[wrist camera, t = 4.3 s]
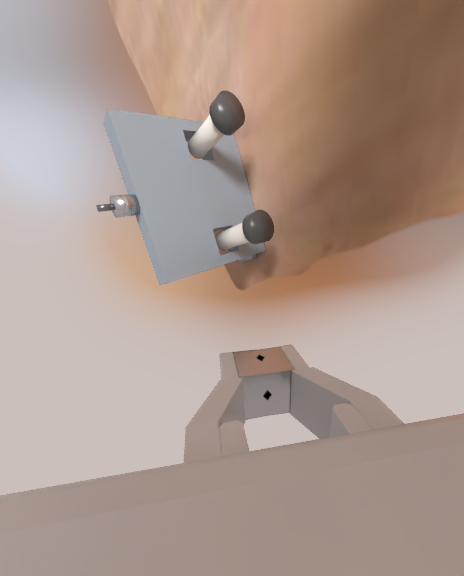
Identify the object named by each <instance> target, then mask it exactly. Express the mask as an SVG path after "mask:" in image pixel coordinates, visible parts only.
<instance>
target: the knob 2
mask: <svg viewBox="0 0 464 576" xmlns="http://www.w3.org/2000/svg"><path fill="white" fill-rule="evenodd" d="M273 233H274V225H273V221H272V219H271V217H270V216H269V214H268V213H267V212H265V211H263V210H257V211H255V212H253V213H251V214H249V215H247V216H246V217H245V218H244V220H243V223H240V224H238V225H236V226H234V227H231V228H229V229H227V230H225V231H222V232H220V233H218V235H217V237H216V242H217V245H218V247H219V248H221V249H223V250H226V249H229V248H233V247H236V246H239V245H242V244H245V243H248V242H250V243H252V244H260V243H263V242H266V241H269V240H270V239H271V238H272V236H273Z"/></svg>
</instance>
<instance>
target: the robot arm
mask: <svg viewBox="0 0 464 576" xmlns="http://www.w3.org/2000/svg"><path fill="white" fill-rule="evenodd" d="M220 369H221V380H220V381H219V382H218V384H217V385H216V386H215V388H214V389H213V391H212V392H211V393H210V395H209V396H208V397H207V399H206V400H205V402H204V403H203V404H202V406H201V407H200V409H199V410H198V411H197V413H196V414H195V416H194V417H193V418H192V420H191V421H190V422H189V424H188V425H187V427H186V435H185V450H184V463H182V464H177V465H171V466H165V467H160V468H154V469H148V470H142V471H137V472H132V473H126V474H120V475H114V476H109V477H103V478H97V479H92V480H86V481H80V482H75V483H69V484H64V485H58V486H52V487H46V488H41V489H36V490H30V491H24V492H18V493H13V494H7V495H1V496H0V576H464V414H459V415H453V416H448V417H442V418H437V419H432V420H425V421H420V422H414V423H408V424H404V423H403V422H402V421H401V420H400V419H399V418H398V417H397V416H396V415H395V414H394V413H393V412H392V411H391V410H390V409H389V408H388V407H387V406H386V405H385V404H384V403H383V402H382V401H381V400H380V399H379V398H378V397H376V396H374V395H372V394H370V393H368V392H365V391H363V390H361V389H359V388H357V387H354V386H352V385H350V384H348V383H345V382H344V381H341V380H339V379H337V378H335V377H332V376H330V375H328V374H326V373H323V372H322V371H319V370H317V369H315V368H309V367H308V365H307V364H306V363H305V361H304V360H303V359H302V357H301V356H300V355H299V353H298V352H297V351H296V350H295V348H294V347H293V346H292V345H286V346H280V347H274V348H268V349H261V350H249V351H239V352H229V353H222V354H220ZM284 413H290V414H291V415H292V416H293V417H294V418H296V419H297V420H298V421H299V422H300V423H302V424H303V425H304V426H305V427H306V428H308V429H309V430H310V431H311V432H312V433H313V434H315V435H316V436H317V437H318V438H319V439H318V440H312V441H306V442H301V443H295V444H290V445H283V446H278V447H273V448H267V449H261V450H255V451H250V452H249V448H248V444H247V440H246V435H245V431H244V424H245V420H247V419H252V418H257V417H263V416H267V415H275V414H284Z"/></svg>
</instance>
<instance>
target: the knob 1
mask: <svg viewBox="0 0 464 576" xmlns="http://www.w3.org/2000/svg"><path fill="white" fill-rule="evenodd" d="M244 121H245V114H244V110H243V107H242V105H241V103H240V101H239V100H238V99H237V97H236V96H235V95H233V94H232V93H231V92H229V91H221V92H220V93H219V95H218V96H217V97H216V98H215V100H214V101H213V102H212V104H211V105H210V115H209V117H208V118H207V119H206V120H205V122H204V123H203V124H202V125H201V127H200V128H199V129H198V130H197V132H196V133H195V134H194V135H193V136H192V138H191V139H190V140H189V142H188V149H189V152H190V153H191V154H192V155H193V156H194V157H195V158H198V159H200V158H203V157H204V155H205V154H206V153H207V152H208V151H209V150H210V149H211V148H212V147H213V146H214V145H215V144H216V143H217V142H218V141H219V140H220V139H221V138H222V137H223V136H224V135H228V136H230V135H232V134H234V133H235V132H236V131H237V130H238V129H239V128H240V127H241V126H242V125H243V123H244Z"/></svg>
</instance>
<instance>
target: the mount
mask: <svg viewBox="0 0 464 576" xmlns="http://www.w3.org/2000/svg"><path fill="white" fill-rule="evenodd" d="M203 123H204V122H200V121H193V120H186V119H178V118H171V117H164V116H156V115H149V114H142V113H135V112H128V111H120V110H114V109H107V112H106V116H105V120H104V126H105V129H106V132H107V134H108V137H109V140H110V143H111V146H112V149H113V152H114V155H115V157H116V160H117V163H118V166H119V169H120V172H121V175H122V177H123V180H124V183H125V186H126V189H127V192H128V194H135V195H136V197H137V198H138V201H139V204H140V214H139V215H136V218H137V221H138V224H139V227H140V229H141V232H142V235H143V238H144V241H145V244H146V247H147V250H148V252H149V255H150V258H151V261H152V264H153V267H154V270H155V273H156V275H157V278H158V281H159V284H160V285H162V284H167V283H170V282H173V281H176V280H179V279H182V278H185V277H188V276H191V275H194V274H197V273H200V272H203V271H206V270H209V269H212V268H215V267H218V266H221V265H224V264H227V263H230V262H233V261H236V260H238V263H239V262H244V261H248V260H252V259H255V258H257V256H256V254H258V253H261V252H264V251H266V248H265V245H264V242H263V243H260V244H252V243H250V242H248V243H245V244H242V245H239V246H236V247H233V248H229V251H230V253H227V254H223V255H220V252H219V249H218V246H217V242H216V239H215V236H214V232H213V231H217V230H222V229H223V230H224V231H225V230H227V229H229V228H231V227H234V226H236V225H238V224H240V223H243V220H244V218H245V217H246V216H247V215H249V214H251V213H253V212H255V208H254V204H253V200H252V197H251V193H250V189H249V185H248V182H247V178H246V174H245V171H244V167H243V163H242V160H241V156H240V152H239V148H238V145H237V141H236V137H235V134H232V135H230V136H228V135H224V136H223V137H222V138H221V139H220V140H219V141H218V142H217V143H216V144H215V145H214V146H213V147H212V148H211V149H210V150H209V151H208V152H207V153H206V154H205V155H204V157H203V158H202V159H203V160H192V159H191V156H190V152H189V149H188V146H187V142H189V140H190V139H191V138H192V136H193V135H194V134H195V133H196V132H197V130H198V129H199V128H200V127H201V125H202V124H203ZM186 141H187V142H186Z"/></svg>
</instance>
